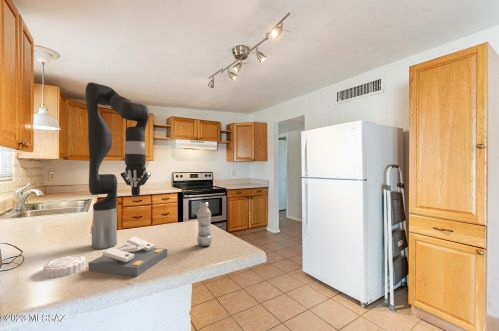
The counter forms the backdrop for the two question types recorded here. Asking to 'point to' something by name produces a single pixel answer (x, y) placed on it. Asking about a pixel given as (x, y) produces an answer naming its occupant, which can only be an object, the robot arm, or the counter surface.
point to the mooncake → (64, 266)
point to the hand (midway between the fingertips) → (135, 196)
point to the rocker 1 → (118, 254)
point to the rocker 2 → (138, 241)
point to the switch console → (128, 262)
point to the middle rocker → (132, 248)
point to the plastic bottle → (204, 225)
